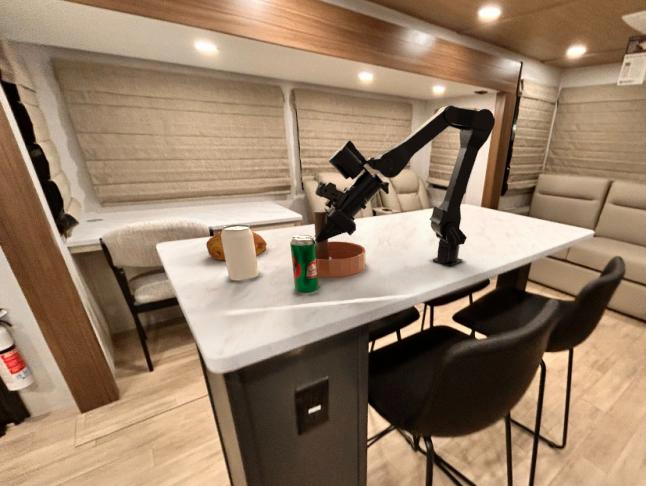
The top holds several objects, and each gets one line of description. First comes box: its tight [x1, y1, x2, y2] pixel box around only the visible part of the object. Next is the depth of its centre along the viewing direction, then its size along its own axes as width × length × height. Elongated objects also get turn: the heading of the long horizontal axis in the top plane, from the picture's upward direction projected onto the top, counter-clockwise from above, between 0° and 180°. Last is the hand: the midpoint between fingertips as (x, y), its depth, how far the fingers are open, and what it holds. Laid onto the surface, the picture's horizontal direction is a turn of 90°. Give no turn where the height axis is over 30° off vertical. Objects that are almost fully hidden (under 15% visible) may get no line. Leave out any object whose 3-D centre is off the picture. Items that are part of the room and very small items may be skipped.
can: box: [221, 224, 260, 282], centre depth 71 cm, size 6×6×12 cm
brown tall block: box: [313, 209, 332, 260], centre depth 77 cm, size 4×3×13 cm
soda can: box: [289, 234, 320, 294], centre depth 66 cm, size 5×5×12 cm
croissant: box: [206, 231, 267, 261], centre depth 88 cm, size 14×16×8 cm
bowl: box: [316, 240, 367, 279], centre depth 80 cm, size 16×16×5 cm
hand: (316, 239), depth 76 cm, fingers closed on brown tall block, 3 cm apart
